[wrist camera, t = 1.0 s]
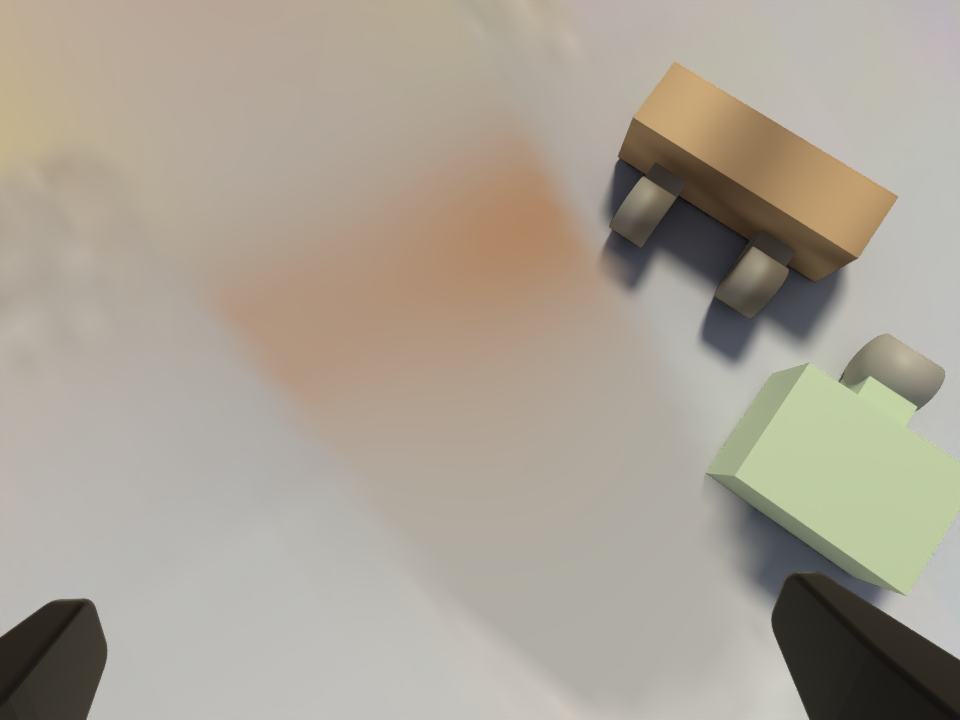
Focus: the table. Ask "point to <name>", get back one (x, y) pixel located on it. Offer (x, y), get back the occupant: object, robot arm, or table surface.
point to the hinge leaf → (849, 463)
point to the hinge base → (746, 187)
